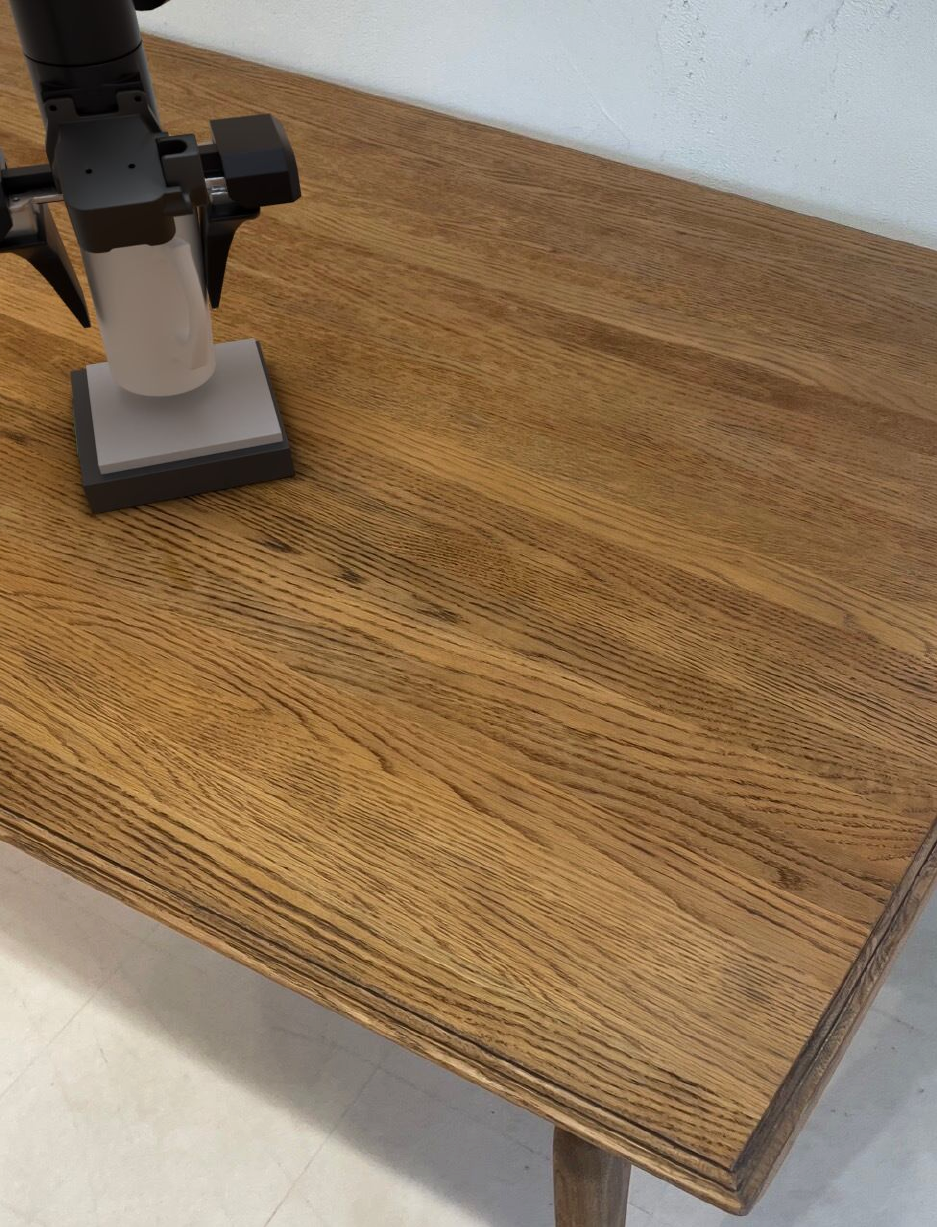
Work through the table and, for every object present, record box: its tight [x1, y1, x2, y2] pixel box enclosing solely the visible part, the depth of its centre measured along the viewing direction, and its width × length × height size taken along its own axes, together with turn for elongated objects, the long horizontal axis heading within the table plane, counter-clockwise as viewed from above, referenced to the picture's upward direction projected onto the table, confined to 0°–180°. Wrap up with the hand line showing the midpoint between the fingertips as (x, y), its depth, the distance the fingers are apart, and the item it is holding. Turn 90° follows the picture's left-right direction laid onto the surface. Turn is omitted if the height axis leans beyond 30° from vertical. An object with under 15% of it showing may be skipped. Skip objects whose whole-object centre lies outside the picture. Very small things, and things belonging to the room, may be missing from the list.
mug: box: [78, 206, 216, 396], centre depth 75 cm, size 10×7×12 cm, turn 41°
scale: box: [69, 337, 296, 515], centre depth 81 cm, size 12×12×3 cm
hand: (151, 314), depth 76 cm, fingers closed on mug, 7 cm apart
